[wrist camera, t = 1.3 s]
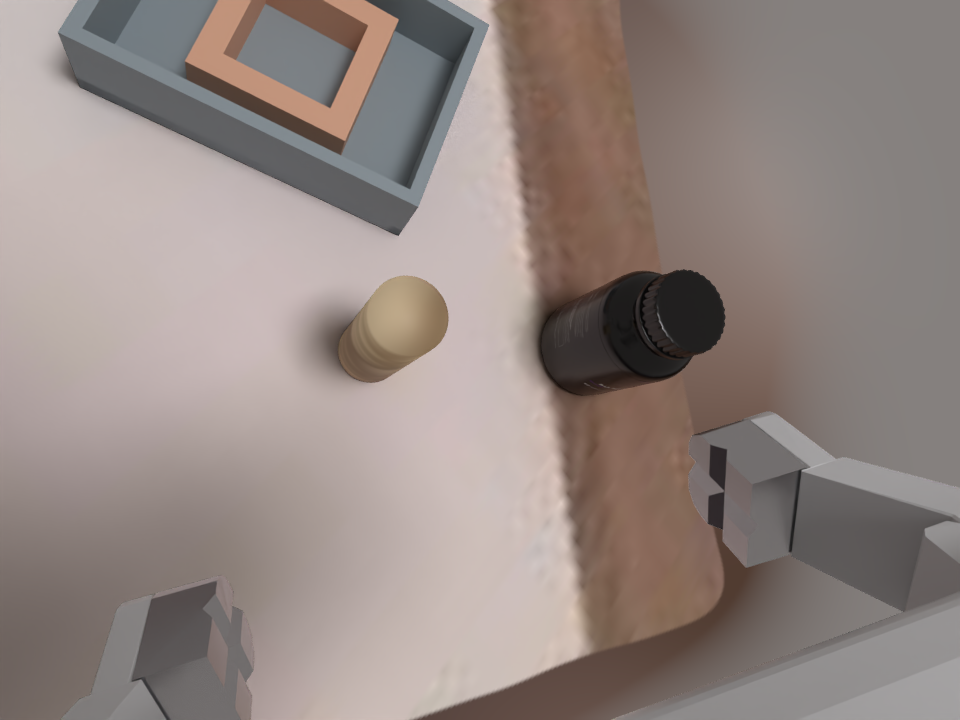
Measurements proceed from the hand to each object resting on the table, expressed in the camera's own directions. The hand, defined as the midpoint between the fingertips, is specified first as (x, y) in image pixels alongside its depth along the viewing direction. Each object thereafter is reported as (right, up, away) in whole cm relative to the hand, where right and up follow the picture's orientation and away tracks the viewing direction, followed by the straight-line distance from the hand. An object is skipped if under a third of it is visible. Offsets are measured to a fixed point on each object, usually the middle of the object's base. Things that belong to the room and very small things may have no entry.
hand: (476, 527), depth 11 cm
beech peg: (-7, +3, +30) cm, 31 cm away
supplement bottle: (+7, +4, +35) cm, 36 cm away
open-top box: (-12, +21, +31) cm, 39 cm away
